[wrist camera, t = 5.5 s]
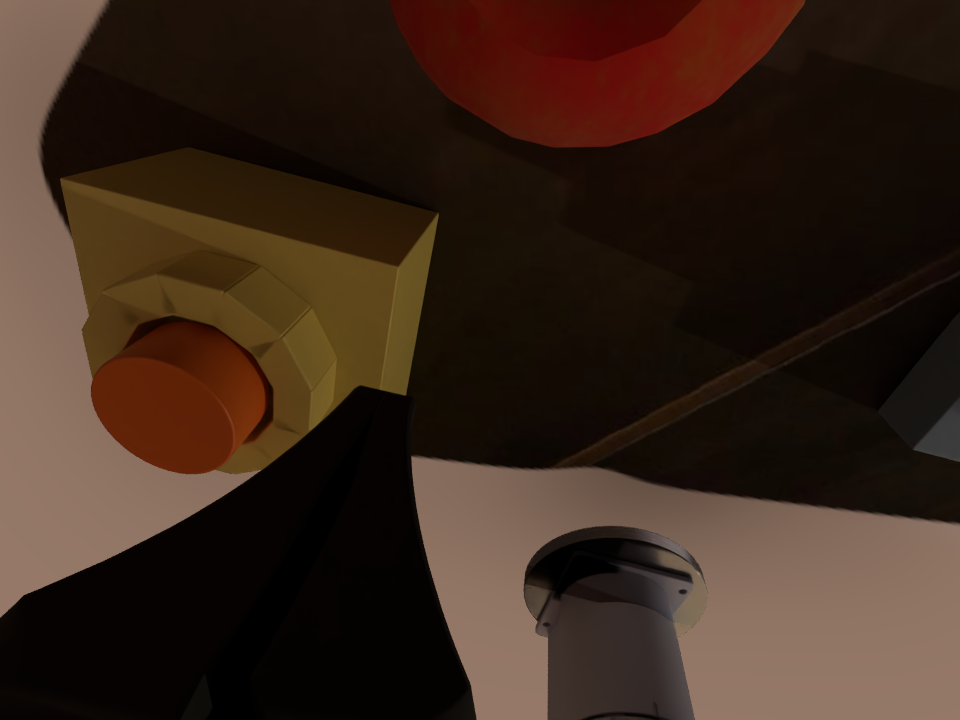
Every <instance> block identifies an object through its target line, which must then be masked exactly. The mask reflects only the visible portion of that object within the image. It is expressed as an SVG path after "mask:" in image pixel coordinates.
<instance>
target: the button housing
mask: <svg viewBox="0 0 960 720" xmlns="http://www.w3.org/2000/svg"><path fill="white" fill-rule="evenodd" d="M60 181H61V186H62V191H63V195H64V200H65V205H66V209H67V214H68V219H69V224H70V228H71V233H72V238H73V242H74V247H75V252H76V257H77V261H78V266H79V271H80V275H81V280H82V285H83V289H84V294H85V299H86V304H87V308H88V313H89V317H88V319H87V321H86V323H85V325H84V327H83V328H82V332H83V333H82V334H83V338H84V343H85V347H86V351H87V356H88V360H89V365H90V369H91V374H92V378H94V376H95V374H96V372H97V371H98V369H99V368H100V367H101V366H102V365H103V364H104V363H106V362H107V361H108V360H110V359H111V358H113V357H114V356H116V355H117V354H119V353H120V352H122V351H123V350H125V349H126V348H128V347H129V346H131V345H132V344H133V343H135V342H136V341H138V340H139V339H141V338H142V337H144V336H145V335H147V334H148V333H150V332H151V331H153V330H154V329H156V328H157V327H159V326H161V325H164V324H167V323H171V322H180V321H187V322H196V323H201V324H204V325H207V326H211V327H213V328H215V329H218V330H220V331H222V332H223V333H225V334H226V335H227V336H229V337H230V338H232V339H233V340H234V341H236V342H237V343H238V344H240V345H241V346H242V347H244V348H245V349H246V350H248V351H249V352H250V353H251V355H252V356H253V357H254V358H255V359H256V361H257V362H258V364H259V366H260V367H261V369H262V371H263V372H264V374H265V377H266V380H267V382H268V387H269V405H268V409H267V411H266V413H265V415H264V417H263V418H262V419H261V421H260V422H259V423H258V424H257V425H256V427H255V428H254V429H253V430H252V432H251V433H250V434H249V435H248V437H247V438H246V439H245V440H244V442H243V443H242V444H241V445H240V447H239V448H238V449H237V450H236V452H235V453H234V454H233V455H232V456H231V458H230V459H229V460H228V461H227V462H226V463H225V464H224V465H222V466H221V467H219V468H218V469H215V470H219V471H222V472H226V473H230V474H233V473H234V474H239V473H245V472H251V471H257V470H262V469H264V468H265V467H267V466H268V465H269V464H270V463H272V462H273V461H274V460H276V459H277V458H278V457H279V456H281V455H282V454H283V453H284V452H286V451H287V450H288V449H290V448H291V447H292V446H293V445H295V444H296V443H297V442H298V441H299V440H301V439H302V438H303V437H304V436H305V435H306V434H307V433H309V432H310V431H311V430H312V429H313V428H314V427H315V426H317V425H318V424H319V423H320V422H321V421H322V420H323V419H324V418H325V417H326V416H328V415H329V414H330V413H331V412H332V411H333V410H334V409H335V408H336V407H337V406H338V405H339V404H340V403H341V402H342V401H343V400H344V399H345V398H346V397H347V396H348V395H349V394H350V393H351V392H352V390H353V389H354V388H356V387H358V386H359V385H362V386H366V387H371V388H375V389H379V390H384V391H388V392H392V393H397V394H401V395H405V396H406V391H407V386H408V380H409V375H410V369H411V364H412V358H413V353H414V347H415V342H416V336H417V331H418V325H419V320H420V314H421V309H422V304H423V298H424V293H425V287H426V282H427V276H428V271H429V265H430V260H431V254H432V249H433V243H434V238H435V232H436V227H437V221H438V216H439V213H437V212H433V211H430V210H426V209H422V208H418V207H414V206H411V205H407V204H403V203H399V202H395V201H392V200H388V199H384V198H380V197H376V196H373V195H369V194H365V193H361V192H357V191H354V190H350V189H346V188H342V187H339V186H335V185H331V184H327V183H323V182H320V181H316V180H312V179H308V178H304V177H301V176H297V175H293V174H289V173H285V172H282V171H278V170H274V169H270V168H266V167H263V166H259V165H255V164H251V163H247V162H244V161H240V160H236V159H232V158H228V157H225V156H221V155H217V154H213V153H209V152H206V151H202V150H198V149H194V148H190V147H187V148H183V149H179V150H175V151H170V152H166V153H162V154H158V155H154V156H150V157H146V158H142V159H138V160H133V161H129V162H125V163H121V164H117V165H113V166H109V167H105V168H101V169H96V170H92V171H88V172H84V173H80V174H76V175H72V176H68V177H64V178H61V179H60Z"/></svg>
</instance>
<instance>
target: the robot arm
mask: <svg viewBox="0 0 960 720" xmlns="http://www.w3.org/2000/svg"><path fill="white" fill-rule="evenodd" d="M415 406H416V401H415V400H414V399H413V397H410V396H405V395H401V394H397V393H392V392H388V391H384V390H379V389H375V388H371V387H366V386H362V385H359V386H358V387H356V388H354V389H353V390H352V392H351V393H350V394H349V395H348V396H347V397H346V398H345V399H344V400H343V401H342V402H341V403H340V404H339V405H338V406H337V407H336V408H335V409H334V410H333V411H332V412H331V413H330V414H329V415H328V416H326V417H325V418H324V419H323V420H322V421H321V422H320V423H319V424H318V425H317V426H315V427H314V428H313V429H312V430H311V431H310V432H309V433H307V434H306V435H305V436H304V437H303V438H302V439H301V440H299V441H298V442H297V443H296V444H295V445H293V446H292V447H291V448H290V449H288V450H287V451H286V452H284V453H283V454H282V455H281V456H279V457H278V458H277V459H276V460H274V461H273V462H272V463H270V464H269V465H268V466H267V467H265V468H264V469H262V470H261V471H260V472H258V473H257V474H255V475H254V476H253V477H251V478H250V479H249V480H247V481H246V482H244V483H243V484H241V485H240V486H238V487H237V488H235V489H234V490H232V491H231V492H229V493H228V494H226V495H224V496H223V497H222V498H220V499H218V500H216V501H215V502H213V503H212V504H210V505H208V506H206V507H205V508H203V509H201V510H200V511H198V512H197V513H195V514H193V515H191V516H190V517H188V518H186V519H185V520H183V521H181V522H179V523H177V524H176V525H174V526H172V527H170V528H168V529H166V530H164V531H162V532H160V533H158V534H156V535H155V536H153V537H151V538H149V539H147V540H145V541H143V542H141V543H139V544H137V545H135V546H133V547H131V548H129V549H127V550H125V551H123V552H121V553H119V554H117V555H115V556H113V557H111V558H109V559H107V560H105V561H103V562H100V563H98V564H96V565H93V566H91V567H89V568H86V569H84V570H82V571H80V572H77V573H75V574H73V575H70V576H68V577H66V578H64V579H61V580H59V581H57V582H54V583H52V584H50V585H47V586H45V587H43V588H41V589H38V590H36V591H33V592H31V593H28V594H26V595H24V596H23V597H22V598H21V599H20V600H19V601H18V602H17V603H16V604H15V605H14V606H13V607H11V609H9V610H8V611H7V612H6V613H5V614H4V615H3V616H2V617H1V618H0V720H476V714H475V708H474V702H473V696H472V690H471V685H470V682H469V680H468V677H467V675H466V672H465V670H464V667H463V665H462V663H461V660H460V657H459V655H458V652H457V650H456V647H455V645H454V642H453V639H452V637H451V634H450V631H449V628H448V626H447V623H446V620H445V617H444V614H443V611H442V608H441V605H440V601H439V598H438V595H437V591H436V588H435V585H434V581H433V578H432V575H431V571H430V568H429V564H428V560H427V556H426V552H425V548H424V544H423V539H422V535H421V530H420V525H419V519H418V514H417V508H416V502H415V494H414V486H413V477H412V464H411V463H412V462H411V428H412V422H413V417H414V411H415ZM693 589H694V583H693V580H692V579H690V578H688V577H684V576H680V575H676V574H673V573H669V572H665V571H661V570H657V569H653V568H649V567H645V566H641V565H638V564H634V563H630V562H626V561H622V560H618V559H614V558H610V557H606V556H602V555H599V554H595V553H591V552H587V551H583V550H577V551H575V552H573V554H572V556H571V558H570V560H569V562H568V564H567V566H566V568H565V569H564V571H563V573H562V575H561V577H560V579H559V581H558V583H557V585H556V587H555V589H554V591H553V593H552V595H551V597H550V599H549V601H548V603H547V605H546V607H545V609H544V611H543V613H542V615H541V617H540V619H539V621H538V623H537V625H536V633H537V634H538V635H540V636H544V637H548V720H695V718H694V713H693V709H692V704H691V700H690V695H689V690H688V686H687V681H686V677H685V672H684V667H683V662H682V658H681V653H680V649H679V644H678V639H677V634H676V630H675V625H674V620H673V615H674V614H675V613H676V611H677V610H678V609H679V607H680V606H681V605H682V603H683V602H684V601H685V599H686V598H687V597H688V595H689V594H690V593H691V591H692V590H693Z"/></svg>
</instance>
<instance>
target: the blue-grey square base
mask: <svg viewBox="0 0 960 720" xmlns="http://www.w3.org/2000/svg"><path fill="white" fill-rule="evenodd" d="M878 413H879V414H880V415H881V416H882V417H883V418H884V419H885V420H886V421H887V422H888V423H889V424H890V426H891V427H892V428H893V429H894V430H895V431H896V432H897V433H898V434H899V435H900V436H901V438H902V439H903V440H904V441H905V442H906V443H907V444H908V445H909V446H910V447H911V448H912V449H913V450H917V451H921V452H925V453H928V454H932V455H936V456H940V457H944V458H948V459H951V460H955V461H959V462H960V311H959V312H958V314H957V315H956V316H955V317H954V319H953V320H952V321H951V322H950V323H949V325H948V326H947V327H946V328H945V329H944V331H943V332H942V333H941V334H940V336H939V337H938V338H937V339H936V340H935V342H934V343H933V344H932V345H931V347H930V348H929V349H928V350H927V351H926V353H925V354H924V355H923V356H922V358H921V359H920V360H919V361H918V362H917V364H916V365H915V366H914V367H913V368H912V370H911V371H910V372H909V373H908V375H907V376H906V377H905V378H904V379H903V381H902V382H901V383H900V384H899V386H898V387H897V388H896V389H895V390H894V392H893V393H892V394H891V395H890V397H889V398H888V399H887V400H886V401H885V403H884V404H883V405H882V406H881V407H880V409H879V410H878Z"/></svg>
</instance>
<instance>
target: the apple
mask: <svg viewBox="0 0 960 720" xmlns="http://www.w3.org/2000/svg"><path fill="white" fill-rule="evenodd" d="M389 2H390V5H391V8H392V11H393V14H394V18H395V21H396V24H397V26H398V28H399V29H400V31H401V33H402V35H403V37H404V38H405V40H406V42H407V44H408V46H409V47H410V49H411V51H412V53H413V55H414V57H415V58H416V60H417V62H418V64H419V66H420V67H421V68H422V69H423V70H424V72H425V73H426V74H427V75H428V76H429V77H430V79H431V80H432V81H433V82H434V83H435V84H436V86H437V87H438V88H439V89H440V90H441V91H442V93H443V94H444V95H445V96H446V97H447V98H448V99H450V100H452V101H453V102H455V103H457V104H458V105H460V106H461V107H463V108H465V109H466V110H468V111H470V112H471V113H473V114H474V115H476V116H478V117H479V118H481V119H483V120H484V121H486V122H487V123H489V124H491V125H492V126H494V127H496V128H497V129H499V130H500V131H502V132H504V133H505V134H507V135H509V136H510V137H513V138H517V139H521V140H525V141H529V142H533V143H537V144H542V145H546V146H550V147H609V146H612V145H616V144H620V143H623V142H627V141H630V140H634V139H638V138H641V137H645V136H649V135H652V134H656V133H658V132H660V131H662V130H664V129H666V128H668V127H669V126H671V125H673V124H675V123H677V122H679V121H681V120H682V119H684V118H686V117H688V116H690V115H692V114H694V113H696V112H697V111H699V110H701V109H703V108H705V107H707V106H709V105H710V104H712V103H714V102H715V101H716V100H717V99H718V98H719V97H720V96H721V95H722V94H723V93H724V92H725V91H726V90H728V89H729V88H730V87H731V86H732V85H733V84H734V83H735V82H736V81H737V80H738V79H739V78H740V77H742V76H743V75H744V74H745V73H746V72H747V71H748V70H749V69H750V68H751V67H752V66H753V65H754V64H756V63H757V62H758V61H759V60H760V59H761V58H762V57H763V56H764V55H765V54H766V53H767V52H768V51H769V50H770V48H771V47H772V46H773V44H774V43H775V42H776V40H777V39H778V38H779V37H780V35H781V34H782V33H783V31H784V30H785V29H786V27H787V26H788V25H789V23H790V22H791V21H792V20H793V18H794V17H795V16H796V14H797V13H798V12H799V10H800V9H801V8H802V6H803V5H804V3H805V0H389Z"/></svg>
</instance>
